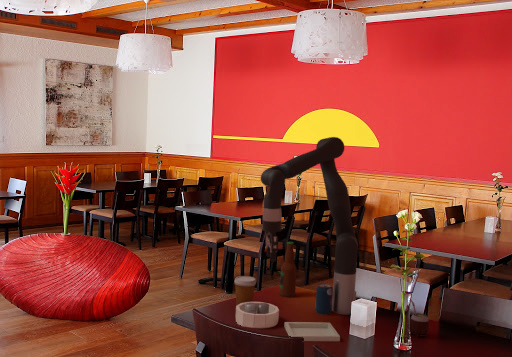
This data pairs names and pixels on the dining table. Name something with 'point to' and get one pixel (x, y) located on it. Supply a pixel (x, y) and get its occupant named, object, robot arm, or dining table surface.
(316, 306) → the soda can
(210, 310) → the dining table surface
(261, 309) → the grey cylinder
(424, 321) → the mate gourd
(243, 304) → the bowl
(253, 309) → the grey cylinder
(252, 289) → the disposable coffee cup
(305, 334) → the tray
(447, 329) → the dining table surface
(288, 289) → the bottle
